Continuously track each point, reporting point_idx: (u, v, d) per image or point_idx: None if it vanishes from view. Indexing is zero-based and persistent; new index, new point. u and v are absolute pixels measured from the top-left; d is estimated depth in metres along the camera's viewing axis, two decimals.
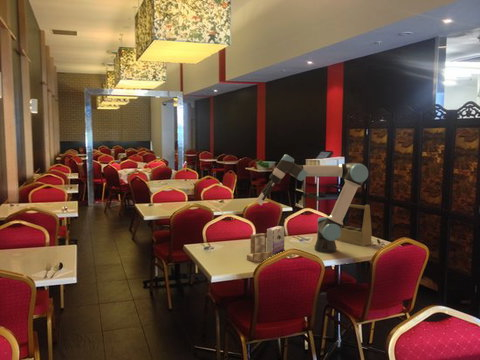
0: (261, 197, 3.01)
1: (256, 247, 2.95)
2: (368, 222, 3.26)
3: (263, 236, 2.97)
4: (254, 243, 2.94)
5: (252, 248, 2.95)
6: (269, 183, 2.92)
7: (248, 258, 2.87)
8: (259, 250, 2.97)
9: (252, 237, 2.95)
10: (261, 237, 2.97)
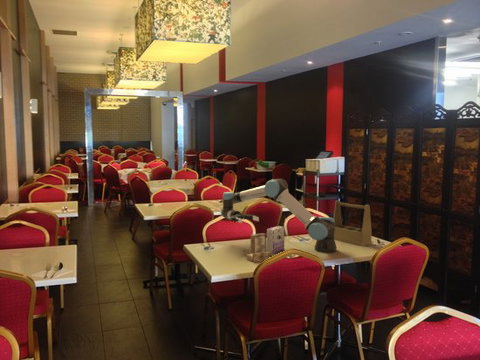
0: (255, 218, 3.12)
1: (256, 247, 2.95)
2: (368, 222, 3.26)
3: (263, 236, 2.97)
4: (254, 243, 2.94)
5: (252, 248, 2.95)
6: None
7: (248, 258, 2.87)
8: (259, 250, 2.97)
9: (252, 237, 2.95)
10: (261, 237, 2.97)
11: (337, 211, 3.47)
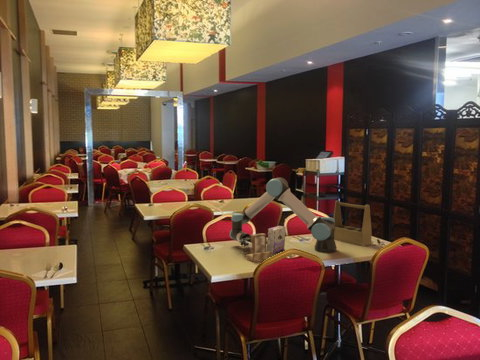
0: None
1: (256, 247, 2.95)
2: (368, 222, 3.26)
3: (263, 236, 2.97)
4: (254, 243, 2.94)
5: (252, 248, 2.95)
6: None
7: (248, 258, 2.87)
8: (259, 250, 2.97)
9: (252, 237, 2.95)
10: (261, 237, 2.97)
11: (337, 211, 3.47)
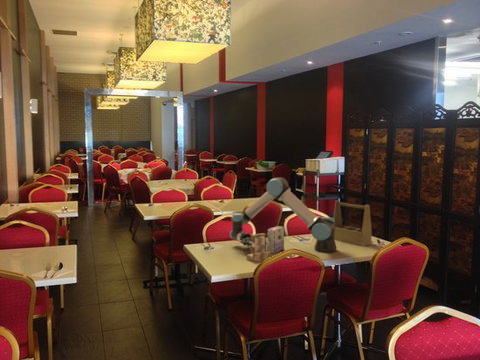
0: None
1: (256, 247, 2.95)
2: (368, 222, 3.26)
3: (263, 236, 2.97)
4: None
5: (252, 248, 2.95)
6: None
7: (248, 258, 2.87)
8: (259, 250, 2.97)
9: (252, 237, 2.95)
10: (261, 237, 2.97)
11: (337, 211, 3.47)
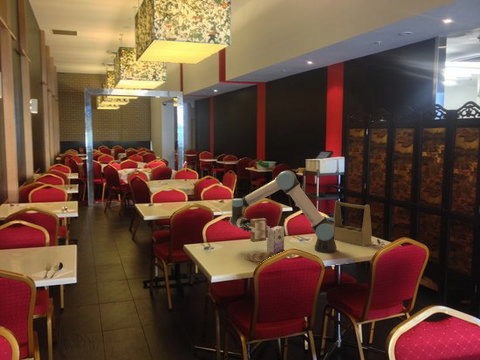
0: None
1: (256, 232, 2.85)
2: (368, 222, 3.26)
3: (263, 221, 2.87)
4: None
5: (252, 233, 2.85)
6: None
7: (248, 258, 2.87)
8: (259, 235, 2.86)
9: (252, 222, 2.84)
10: (261, 222, 2.86)
11: (337, 211, 3.47)
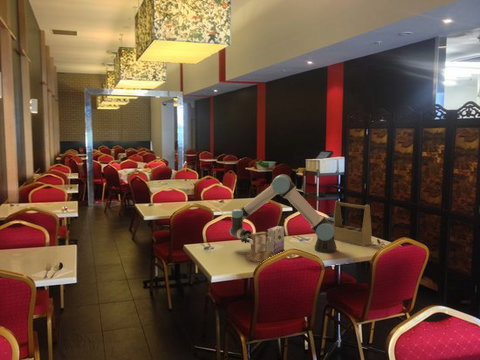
0: (267, 238, 2.91)
1: (256, 246, 2.85)
2: (368, 222, 3.26)
3: (264, 235, 2.87)
4: (254, 242, 2.84)
5: (252, 247, 2.85)
6: None
7: (248, 258, 2.87)
8: (260, 249, 2.87)
9: (252, 236, 2.85)
10: (262, 236, 2.87)
11: (337, 211, 3.47)
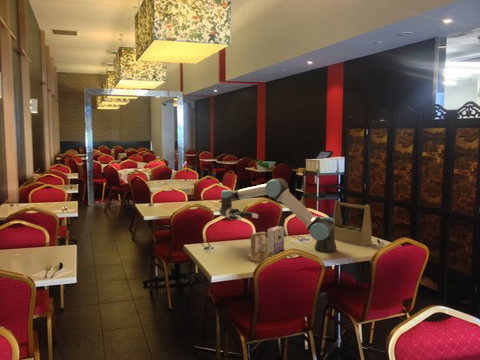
0: (254, 215, 3.08)
1: (256, 246, 2.85)
2: (368, 222, 3.26)
3: (264, 235, 2.87)
4: (254, 242, 2.84)
5: (252, 247, 2.85)
6: None
7: (248, 258, 2.87)
8: (260, 249, 2.87)
9: (252, 236, 2.85)
10: (262, 236, 2.87)
11: (337, 211, 3.47)
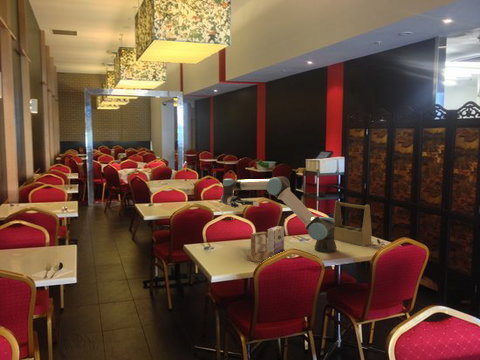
0: (255, 203, 3.11)
1: (256, 246, 2.85)
2: (368, 222, 3.26)
3: (264, 235, 2.87)
4: (254, 242, 2.84)
5: (252, 247, 2.85)
6: None
7: (248, 258, 2.87)
8: (260, 249, 2.87)
9: (252, 236, 2.85)
10: (262, 236, 2.87)
11: (337, 211, 3.47)
